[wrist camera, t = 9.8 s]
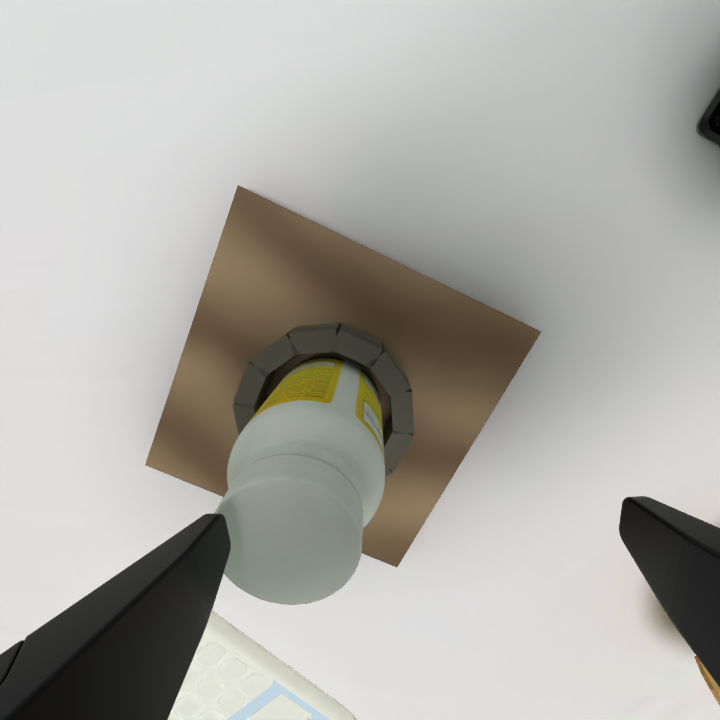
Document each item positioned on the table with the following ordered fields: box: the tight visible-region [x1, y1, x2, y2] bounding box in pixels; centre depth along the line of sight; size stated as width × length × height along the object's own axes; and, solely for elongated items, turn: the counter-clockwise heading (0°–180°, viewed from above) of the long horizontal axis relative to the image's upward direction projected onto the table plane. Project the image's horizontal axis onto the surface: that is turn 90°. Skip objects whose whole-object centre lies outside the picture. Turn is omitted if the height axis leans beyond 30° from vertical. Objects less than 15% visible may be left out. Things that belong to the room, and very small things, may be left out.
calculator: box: [168, 611, 355, 720], centre depth 25 cm, size 13×20×2 cm, turn 46°
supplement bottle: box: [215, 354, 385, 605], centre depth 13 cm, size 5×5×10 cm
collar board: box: [145, 185, 541, 567], centre depth 18 cm, size 16×16×3 cm
